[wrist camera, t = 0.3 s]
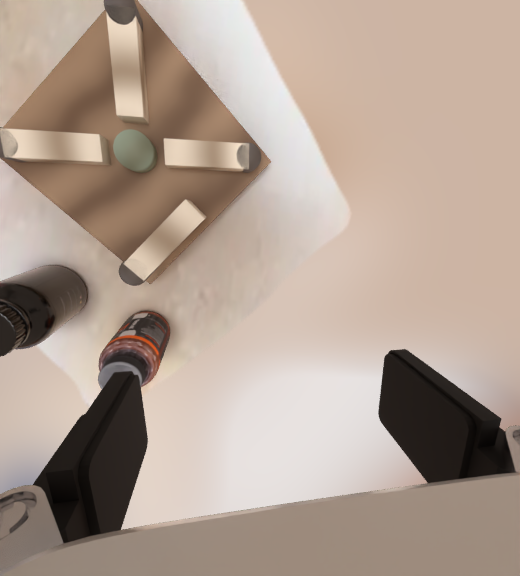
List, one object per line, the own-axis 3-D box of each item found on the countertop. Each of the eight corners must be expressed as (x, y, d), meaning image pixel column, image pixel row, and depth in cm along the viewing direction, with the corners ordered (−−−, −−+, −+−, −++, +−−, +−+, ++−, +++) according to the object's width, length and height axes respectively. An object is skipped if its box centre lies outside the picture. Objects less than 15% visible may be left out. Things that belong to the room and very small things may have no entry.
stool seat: (5, 151, 30) (-35, 140, 25) (133, 5, 28) (116, -36, 23) (154, 279, 36) (145, 289, 31) (267, 164, 34) (275, 157, 29)
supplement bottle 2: (130, 303, 36) (94, 344, 25) (176, 317, 37) (161, 360, 27) (118, 344, 37) (79, 399, 26) (163, 355, 39) (143, 412, 28)
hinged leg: (149, 276, 33) (135, 290, 27) (131, 261, 32) (112, 272, 26) (207, 217, 32) (205, 219, 26) (190, 200, 31) (184, 198, 25)
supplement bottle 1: (26, 312, 34) (-68, 364, 23) (28, 258, 33) (-71, 285, 21) (87, 321, 36) (27, 374, 24) (92, 270, 34) (30, 301, 23)
